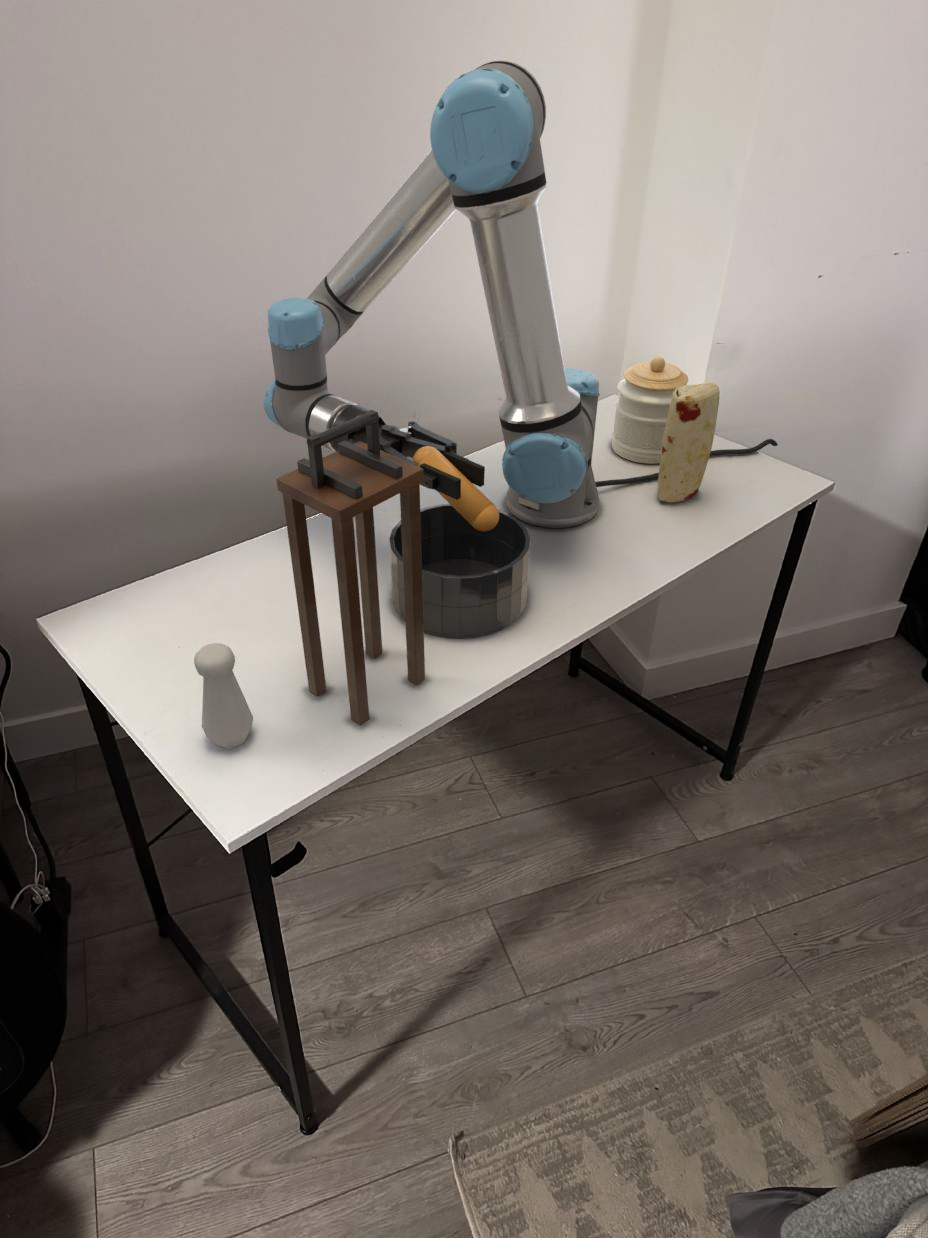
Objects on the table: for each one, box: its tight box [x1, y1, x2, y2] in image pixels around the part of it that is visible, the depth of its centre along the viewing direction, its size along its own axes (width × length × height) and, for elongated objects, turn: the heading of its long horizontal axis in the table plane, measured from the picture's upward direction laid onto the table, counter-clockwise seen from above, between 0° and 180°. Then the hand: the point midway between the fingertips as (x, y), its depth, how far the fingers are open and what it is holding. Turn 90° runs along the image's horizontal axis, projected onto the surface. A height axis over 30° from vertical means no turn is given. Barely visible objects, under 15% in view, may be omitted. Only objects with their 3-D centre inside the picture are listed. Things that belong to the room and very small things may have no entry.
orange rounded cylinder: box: [412, 446, 499, 532], centre depth 117 cm, size 15×4×4 cm, turn 49°
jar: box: [611, 356, 689, 465], centre depth 160 cm, size 13×13×18 cm
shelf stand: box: [275, 409, 426, 726], centre depth 101 cm, size 10×12×36 cm
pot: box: [388, 503, 531, 640], centre depth 124 cm, size 19×19×10 cm
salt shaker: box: [193, 642, 254, 750], centre depth 101 cm, size 6×6×13 cm
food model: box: [657, 382, 720, 503], centre depth 145 cm, size 10×7×20 cm
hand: (470, 482), depth 115 cm, fingers closed on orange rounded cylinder, 4 cm apart
